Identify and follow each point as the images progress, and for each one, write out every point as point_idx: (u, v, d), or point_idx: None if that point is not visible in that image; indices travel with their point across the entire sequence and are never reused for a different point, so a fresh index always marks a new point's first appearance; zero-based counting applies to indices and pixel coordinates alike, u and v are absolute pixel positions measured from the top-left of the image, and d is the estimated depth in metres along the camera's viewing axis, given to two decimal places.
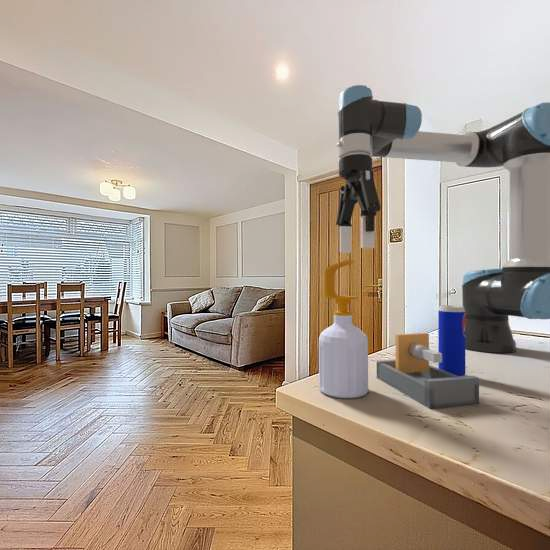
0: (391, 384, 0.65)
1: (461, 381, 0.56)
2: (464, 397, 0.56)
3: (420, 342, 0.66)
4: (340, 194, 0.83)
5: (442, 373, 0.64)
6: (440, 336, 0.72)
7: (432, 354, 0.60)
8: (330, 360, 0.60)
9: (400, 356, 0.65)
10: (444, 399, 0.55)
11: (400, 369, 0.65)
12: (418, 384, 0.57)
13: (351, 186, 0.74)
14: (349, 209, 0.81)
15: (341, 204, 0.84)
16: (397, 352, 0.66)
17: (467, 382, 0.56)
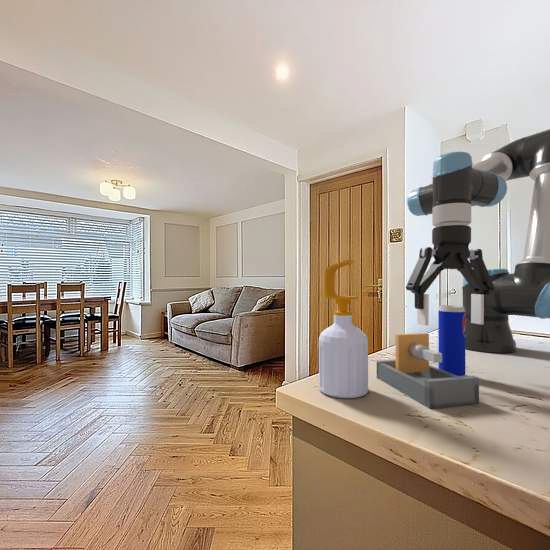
0: (391, 384, 0.65)
1: (461, 381, 0.56)
2: (464, 397, 0.56)
3: (420, 342, 0.66)
4: None
5: (442, 373, 0.64)
6: (440, 336, 0.72)
7: (432, 354, 0.60)
8: (330, 360, 0.60)
9: (400, 356, 0.65)
10: (444, 399, 0.55)
11: (400, 369, 0.65)
12: (418, 384, 0.57)
13: None
14: (468, 277, 0.73)
15: (474, 269, 0.75)
16: (397, 352, 0.66)
17: (467, 382, 0.56)
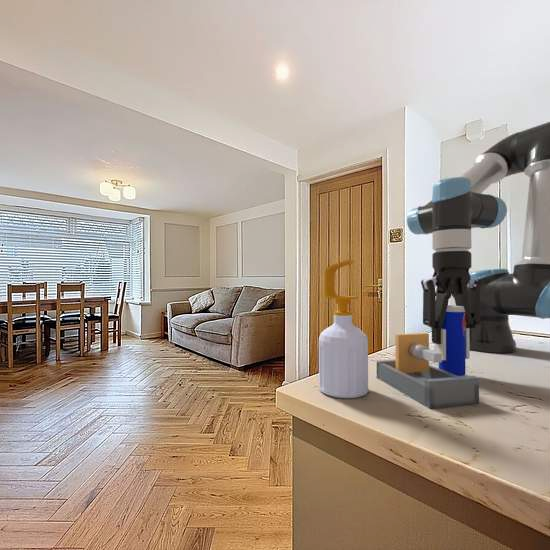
0: (391, 384, 0.65)
1: (461, 381, 0.56)
2: (464, 397, 0.56)
3: (420, 342, 0.66)
4: None
5: (442, 373, 0.64)
6: None
7: (432, 354, 0.60)
8: (330, 360, 0.60)
9: (400, 356, 0.65)
10: (444, 399, 0.55)
11: (400, 369, 0.65)
12: (418, 384, 0.57)
13: None
14: (460, 305, 0.73)
15: (467, 298, 0.74)
16: (397, 352, 0.66)
17: (467, 382, 0.56)
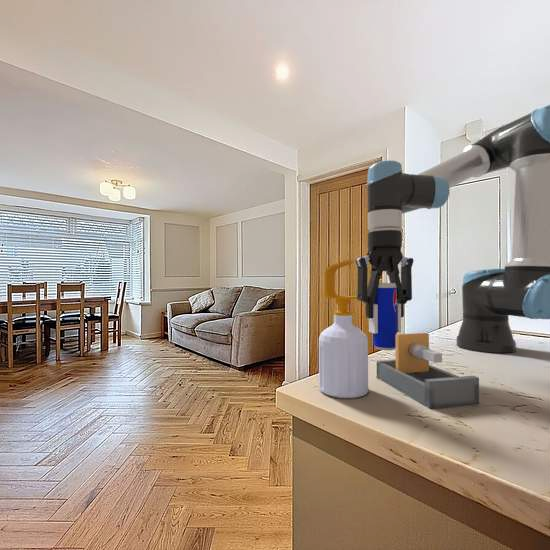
0: (391, 384, 0.65)
1: (461, 381, 0.56)
2: (464, 397, 0.56)
3: (420, 342, 0.66)
4: None
5: (442, 373, 0.64)
6: None
7: (432, 354, 0.60)
8: (330, 360, 0.60)
9: (400, 356, 0.65)
10: (444, 399, 0.55)
11: (400, 369, 0.65)
12: (418, 384, 0.57)
13: None
14: (393, 282, 0.77)
15: (401, 276, 0.79)
16: (397, 352, 0.66)
17: (467, 382, 0.56)
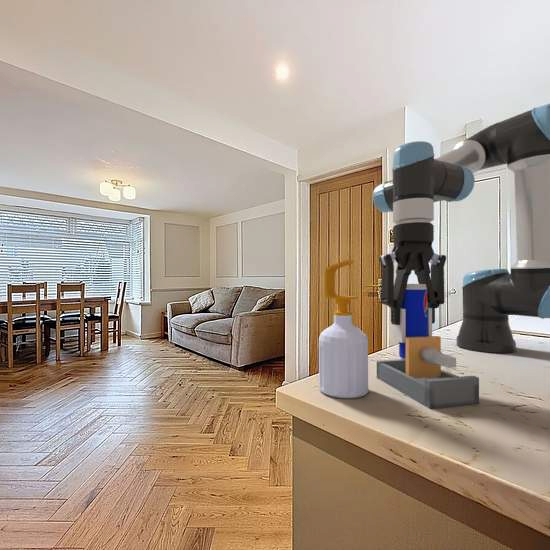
0: (391, 384, 0.65)
1: (461, 381, 0.56)
2: (464, 397, 0.56)
3: (431, 346, 0.63)
4: None
5: (442, 373, 0.64)
6: None
7: (445, 359, 0.56)
8: (330, 360, 0.60)
9: (410, 360, 0.62)
10: (444, 399, 0.55)
11: (410, 374, 0.62)
12: (418, 384, 0.57)
13: None
14: (423, 283, 0.66)
15: (431, 276, 0.68)
16: (408, 356, 0.62)
17: (467, 382, 0.56)
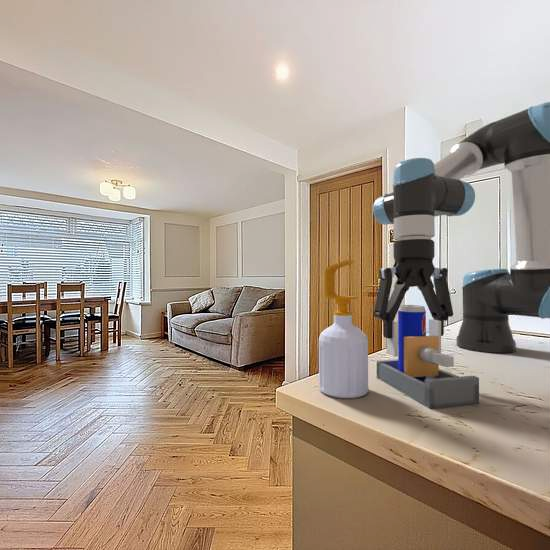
0: (391, 384, 0.65)
1: (461, 381, 0.56)
2: (464, 397, 0.56)
3: (429, 345, 0.64)
4: None
5: (442, 373, 0.64)
6: (399, 338, 0.67)
7: (443, 358, 0.57)
8: (330, 360, 0.60)
9: (409, 360, 0.63)
10: (444, 399, 0.55)
11: (409, 373, 0.63)
12: (418, 384, 0.57)
13: None
14: (428, 298, 0.67)
15: (436, 289, 0.68)
16: (406, 355, 0.63)
17: (467, 382, 0.56)
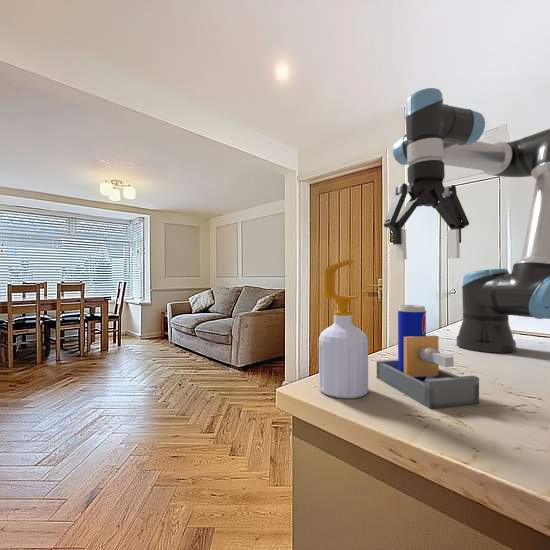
0: (391, 384, 0.65)
1: (461, 381, 0.56)
2: (464, 397, 0.56)
3: (429, 345, 0.64)
4: None
5: (442, 373, 0.64)
6: (399, 338, 0.67)
7: (443, 358, 0.57)
8: (330, 360, 0.60)
9: (409, 360, 0.63)
10: (444, 399, 0.55)
11: (409, 373, 0.63)
12: (418, 384, 0.57)
13: None
14: (444, 213, 0.75)
15: (449, 206, 0.77)
16: (406, 355, 0.63)
17: (467, 382, 0.56)
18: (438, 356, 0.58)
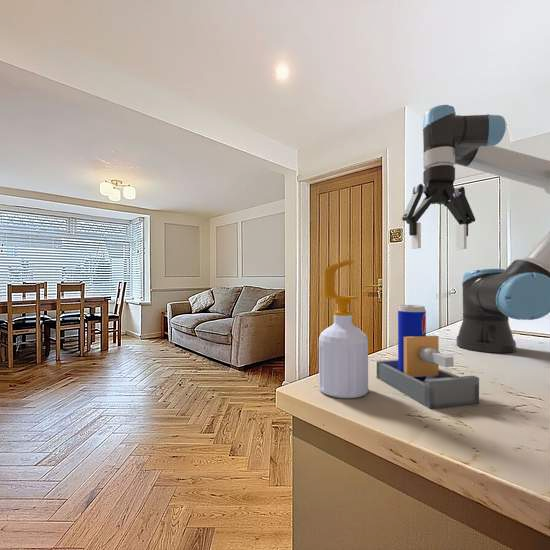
0: (391, 384, 0.65)
1: (461, 381, 0.56)
2: (464, 397, 0.56)
3: (429, 345, 0.64)
4: None
5: (442, 373, 0.64)
6: (399, 338, 0.67)
7: (443, 358, 0.57)
8: (330, 360, 0.60)
9: (409, 360, 0.63)
10: (444, 399, 0.55)
11: (409, 373, 0.63)
12: (418, 384, 0.57)
13: None
14: (453, 210, 0.89)
15: (458, 205, 0.90)
16: (406, 355, 0.63)
17: (467, 382, 0.56)
18: (438, 356, 0.58)
